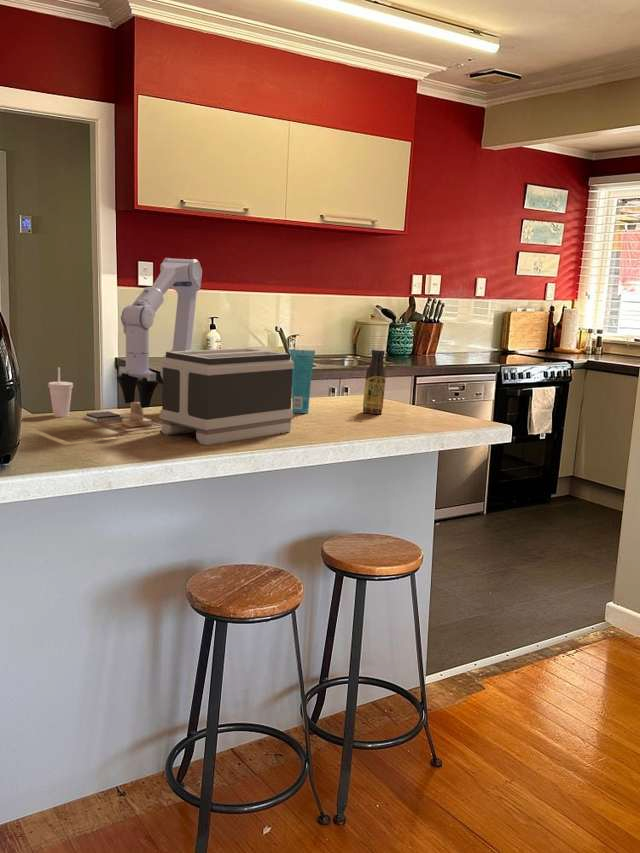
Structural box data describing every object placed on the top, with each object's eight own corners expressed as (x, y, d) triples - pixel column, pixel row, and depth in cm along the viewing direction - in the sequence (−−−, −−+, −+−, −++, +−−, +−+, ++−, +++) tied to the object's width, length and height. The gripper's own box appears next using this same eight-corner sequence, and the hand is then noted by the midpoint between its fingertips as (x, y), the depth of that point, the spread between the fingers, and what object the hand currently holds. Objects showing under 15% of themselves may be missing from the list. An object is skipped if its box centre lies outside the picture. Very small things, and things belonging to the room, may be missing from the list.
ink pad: (109, 415, 215) (109, 410, 214) (122, 420, 210) (122, 415, 210) (83, 418, 210) (83, 413, 209) (96, 422, 205) (96, 417, 204)
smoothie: (43, 418, 211) (42, 366, 208) (61, 415, 216) (60, 365, 214) (61, 421, 208) (60, 369, 205) (78, 418, 213) (78, 367, 211)
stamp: (142, 423, 207) (142, 400, 206) (151, 426, 204) (151, 403, 203) (122, 425, 203) (122, 402, 202) (131, 428, 200) (131, 405, 199)
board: (135, 415, 222) (135, 412, 221) (179, 428, 206) (179, 425, 206) (77, 421, 210) (77, 417, 209) (120, 435, 194) (120, 432, 194)
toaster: (303, 430, 212) (306, 353, 208) (205, 447, 187) (207, 359, 183) (256, 420, 224) (259, 346, 220) (158, 434, 199) (159, 351, 195)
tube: (310, 411, 242) (313, 349, 239) (313, 414, 238) (316, 351, 234) (287, 410, 241) (289, 348, 237) (288, 413, 236) (291, 350, 233)
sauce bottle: (365, 414, 241) (369, 350, 237) (360, 411, 247) (363, 348, 243) (386, 414, 243) (390, 350, 239) (379, 411, 249) (383, 348, 245)
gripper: (108, 350, 202) (108, 402, 205) (138, 356, 192) (138, 410, 195) (132, 349, 207) (132, 400, 210) (163, 355, 197) (162, 408, 199)
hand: (137, 405), depth 202 cm, fingers open, 7 cm apart
